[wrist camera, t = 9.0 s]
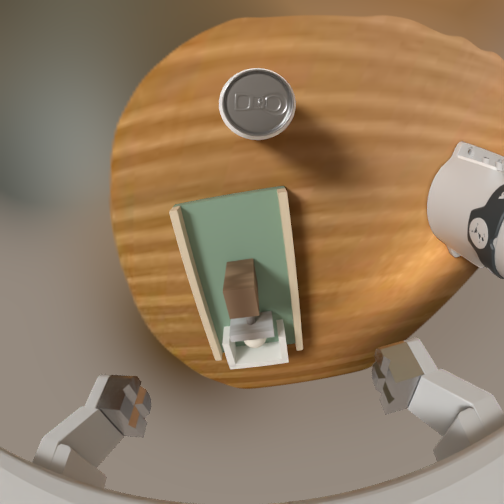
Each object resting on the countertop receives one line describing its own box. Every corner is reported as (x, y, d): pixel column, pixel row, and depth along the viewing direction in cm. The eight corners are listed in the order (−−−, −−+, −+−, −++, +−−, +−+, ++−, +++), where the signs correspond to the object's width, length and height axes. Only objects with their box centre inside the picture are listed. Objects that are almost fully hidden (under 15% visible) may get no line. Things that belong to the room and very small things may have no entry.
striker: (262, 256, 38) (265, 285, 32) (272, 316, 42) (275, 349, 36) (217, 263, 38) (211, 293, 32) (232, 322, 42) (230, 355, 36)
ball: (267, 346, 39) (268, 346, 43) (264, 322, 41) (265, 324, 44) (242, 349, 40) (245, 349, 43) (239, 325, 41) (243, 327, 44)
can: (280, 136, 32) (297, 144, 22) (226, 134, 32) (215, 140, 22) (283, 85, 30) (301, 67, 19) (228, 82, 30) (218, 63, 19)
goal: (282, 319, 43) (285, 336, 39) (286, 344, 45) (288, 362, 41) (224, 326, 43) (222, 344, 40) (231, 351, 46) (230, 369, 42)
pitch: (283, 185, 35) (286, 191, 32) (300, 337, 46) (303, 349, 43) (174, 204, 36) (169, 211, 33) (217, 347, 47) (215, 360, 44)
